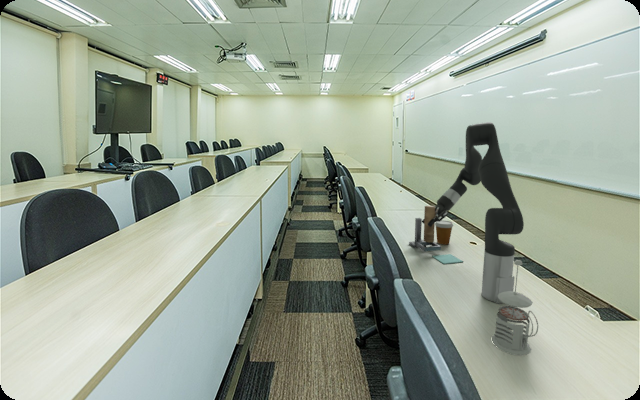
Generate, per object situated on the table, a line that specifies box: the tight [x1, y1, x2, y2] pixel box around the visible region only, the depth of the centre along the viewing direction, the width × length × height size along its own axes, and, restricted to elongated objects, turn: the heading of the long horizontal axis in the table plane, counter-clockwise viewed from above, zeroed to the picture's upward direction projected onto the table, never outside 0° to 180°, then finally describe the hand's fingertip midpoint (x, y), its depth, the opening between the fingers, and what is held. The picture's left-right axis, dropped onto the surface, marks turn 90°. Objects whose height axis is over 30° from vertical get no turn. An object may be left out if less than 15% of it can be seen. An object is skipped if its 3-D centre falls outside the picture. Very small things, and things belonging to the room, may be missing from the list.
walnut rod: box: [423, 205, 436, 242], centre depth 156 cm, size 5×5×18 cm
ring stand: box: [408, 217, 442, 253], centre depth 162 cm, size 18×9×16 cm, turn 10°
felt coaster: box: [431, 253, 464, 265], centre depth 149 cm, size 10×10×1 cm
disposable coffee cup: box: [435, 219, 454, 246], centre depth 173 cm, size 10×10×12 cm
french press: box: [491, 259, 539, 356], centre depth 84 cm, size 10×12×25 cm
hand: (426, 224), depth 156 cm, fingers closed on walnut rod, 5 cm apart
